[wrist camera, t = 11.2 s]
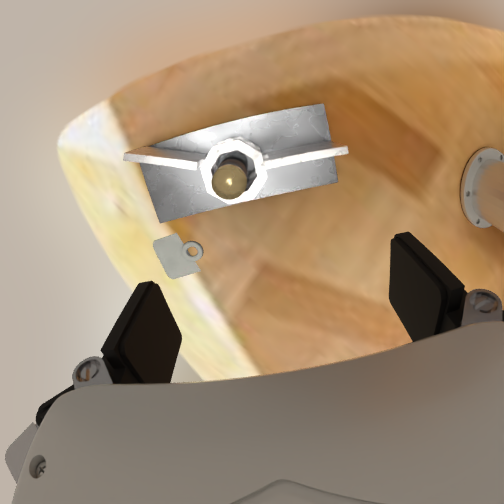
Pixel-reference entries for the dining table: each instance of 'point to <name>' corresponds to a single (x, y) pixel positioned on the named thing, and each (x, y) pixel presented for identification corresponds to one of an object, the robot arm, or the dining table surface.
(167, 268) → the mounting bracket
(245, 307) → the dining table surface
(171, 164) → the hinge leaf
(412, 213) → the dining table surface
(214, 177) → the hinge pin
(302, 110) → the hinge stand
